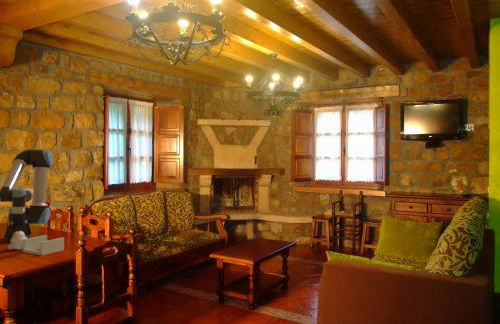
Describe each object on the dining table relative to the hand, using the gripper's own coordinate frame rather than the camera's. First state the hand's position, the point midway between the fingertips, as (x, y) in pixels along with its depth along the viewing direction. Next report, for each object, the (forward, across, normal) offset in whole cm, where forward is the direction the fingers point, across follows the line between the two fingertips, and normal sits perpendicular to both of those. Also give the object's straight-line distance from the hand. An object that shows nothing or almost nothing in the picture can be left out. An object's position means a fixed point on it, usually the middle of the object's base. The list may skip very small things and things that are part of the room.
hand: (17, 247), depth 262 cm
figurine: (+2, 0, 0) cm, 2 cm away
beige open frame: (+1, +5, -17) cm, 18 cm away
